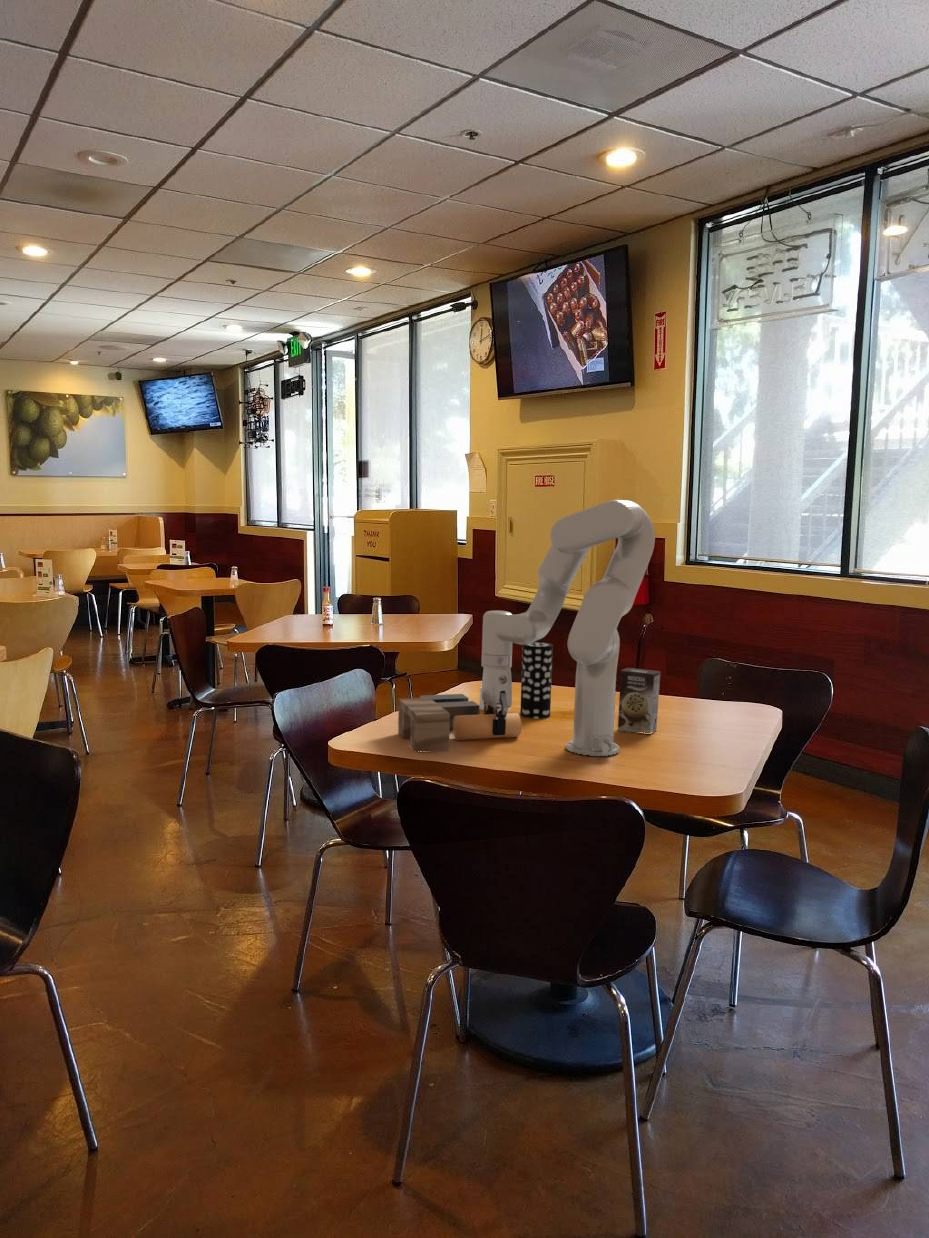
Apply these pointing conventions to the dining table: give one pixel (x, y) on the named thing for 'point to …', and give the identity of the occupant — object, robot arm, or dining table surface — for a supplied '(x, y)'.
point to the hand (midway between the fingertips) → (494, 730)
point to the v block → (455, 705)
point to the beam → (424, 724)
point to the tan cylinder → (484, 726)
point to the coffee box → (638, 700)
